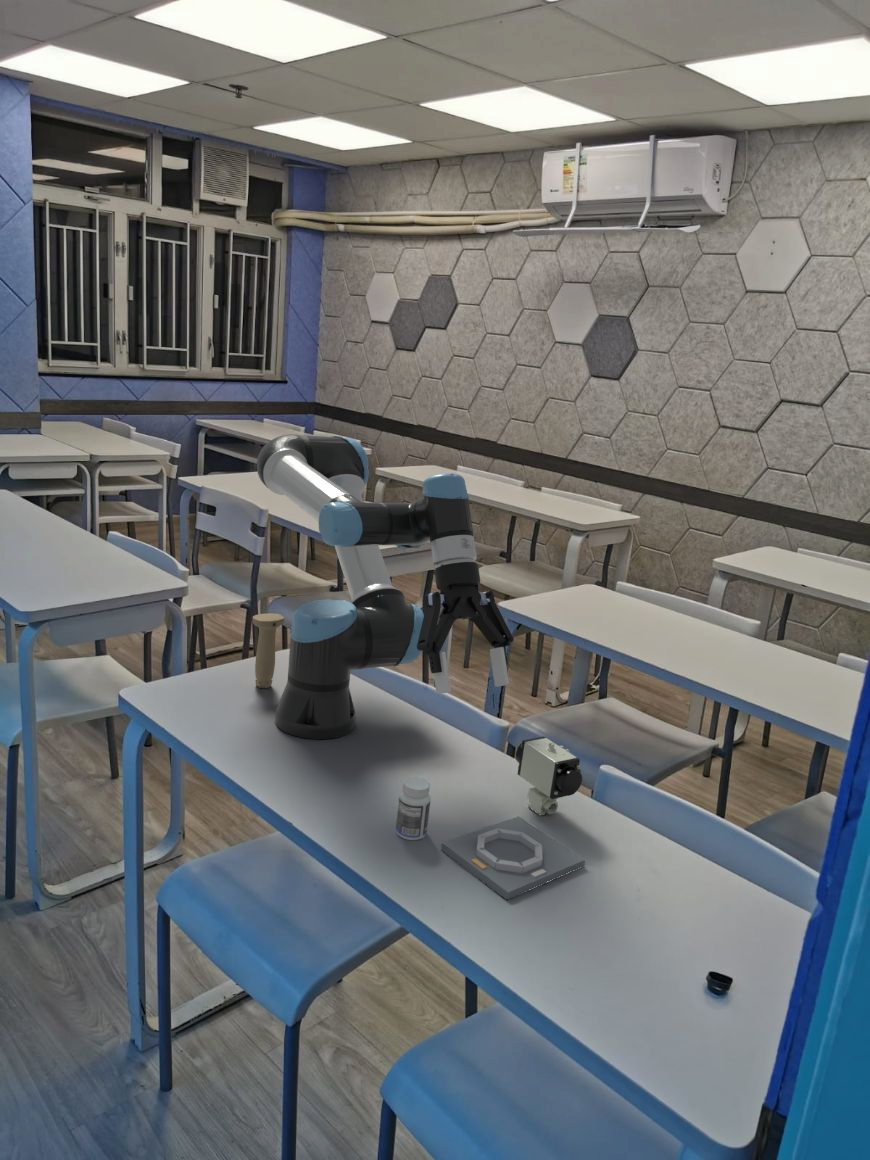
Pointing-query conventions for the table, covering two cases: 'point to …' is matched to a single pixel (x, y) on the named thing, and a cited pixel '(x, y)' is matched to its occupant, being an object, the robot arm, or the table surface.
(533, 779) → the pneumatic valve
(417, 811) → the pill bottle
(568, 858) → the slate board
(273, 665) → the handle
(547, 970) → the table surface
